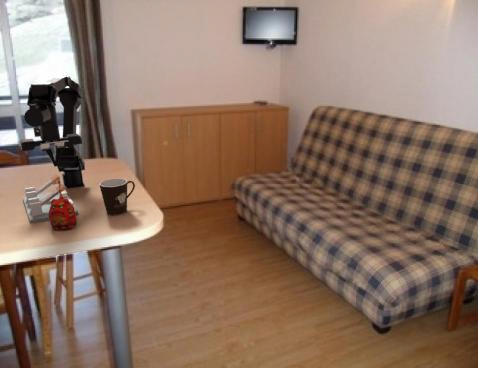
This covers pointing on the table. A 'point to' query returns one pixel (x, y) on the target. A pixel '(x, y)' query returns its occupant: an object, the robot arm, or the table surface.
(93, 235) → the table surface
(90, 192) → the table surface
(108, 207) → the coffee mug
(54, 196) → the strap near
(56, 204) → the red clay folk toy
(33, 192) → the grey stepped panel
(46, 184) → the strap far
